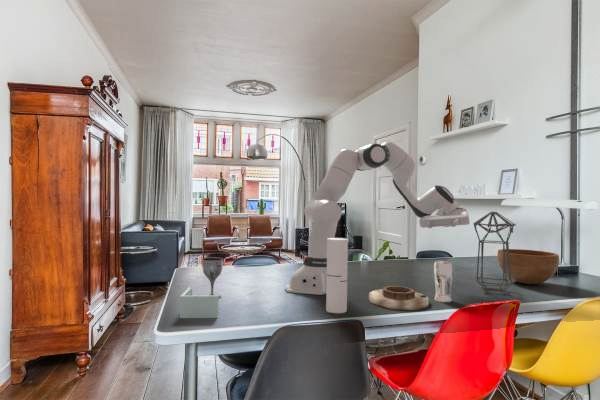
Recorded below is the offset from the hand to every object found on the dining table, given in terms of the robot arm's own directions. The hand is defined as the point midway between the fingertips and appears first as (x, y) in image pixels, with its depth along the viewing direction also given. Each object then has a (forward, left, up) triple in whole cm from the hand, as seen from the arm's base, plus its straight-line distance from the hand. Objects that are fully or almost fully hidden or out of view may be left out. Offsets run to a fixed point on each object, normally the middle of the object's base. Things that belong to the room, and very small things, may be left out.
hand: (441, 225), depth 148 cm
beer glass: (-2, -9, -29) cm, 30 cm away
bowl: (+49, +27, -29) cm, 63 cm away
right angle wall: (-89, -35, -29) cm, 100 cm away
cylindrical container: (-44, -27, -29) cm, 59 cm away
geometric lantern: (+25, +9, -29) cm, 39 cm away
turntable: (-20, -13, -28) cm, 37 cm away
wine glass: (-92, -16, -29) cm, 98 cm away
